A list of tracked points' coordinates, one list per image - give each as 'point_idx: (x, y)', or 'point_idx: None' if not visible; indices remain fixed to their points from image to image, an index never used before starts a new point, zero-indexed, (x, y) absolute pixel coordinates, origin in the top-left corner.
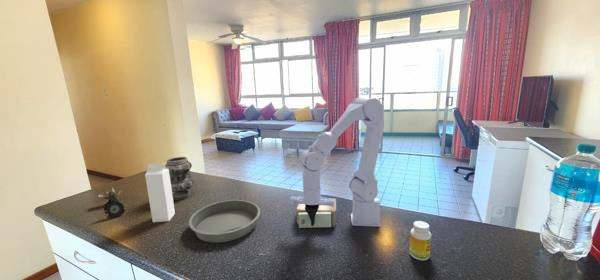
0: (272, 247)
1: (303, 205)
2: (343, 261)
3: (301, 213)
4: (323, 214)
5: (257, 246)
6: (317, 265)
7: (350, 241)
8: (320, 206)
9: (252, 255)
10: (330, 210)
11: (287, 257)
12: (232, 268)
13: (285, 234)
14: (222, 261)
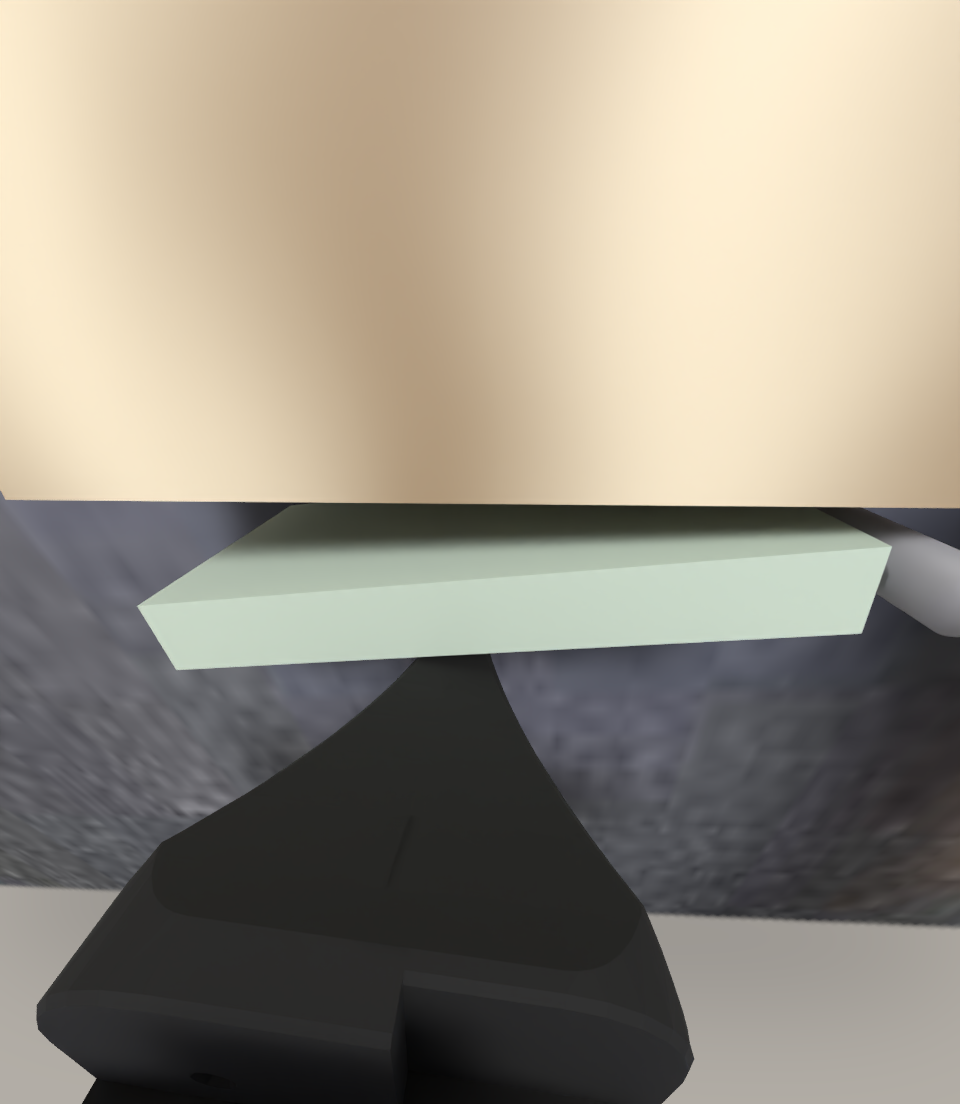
0: (220, 766)
1: (19, 208)
2: (699, 861)
3: (211, 638)
4: (666, 637)
5: (120, 759)
6: None
7: (842, 710)
8: (641, 220)
9: (154, 816)
10: (922, 504)
11: None
12: (133, 872)
13: None
14: (48, 842)
